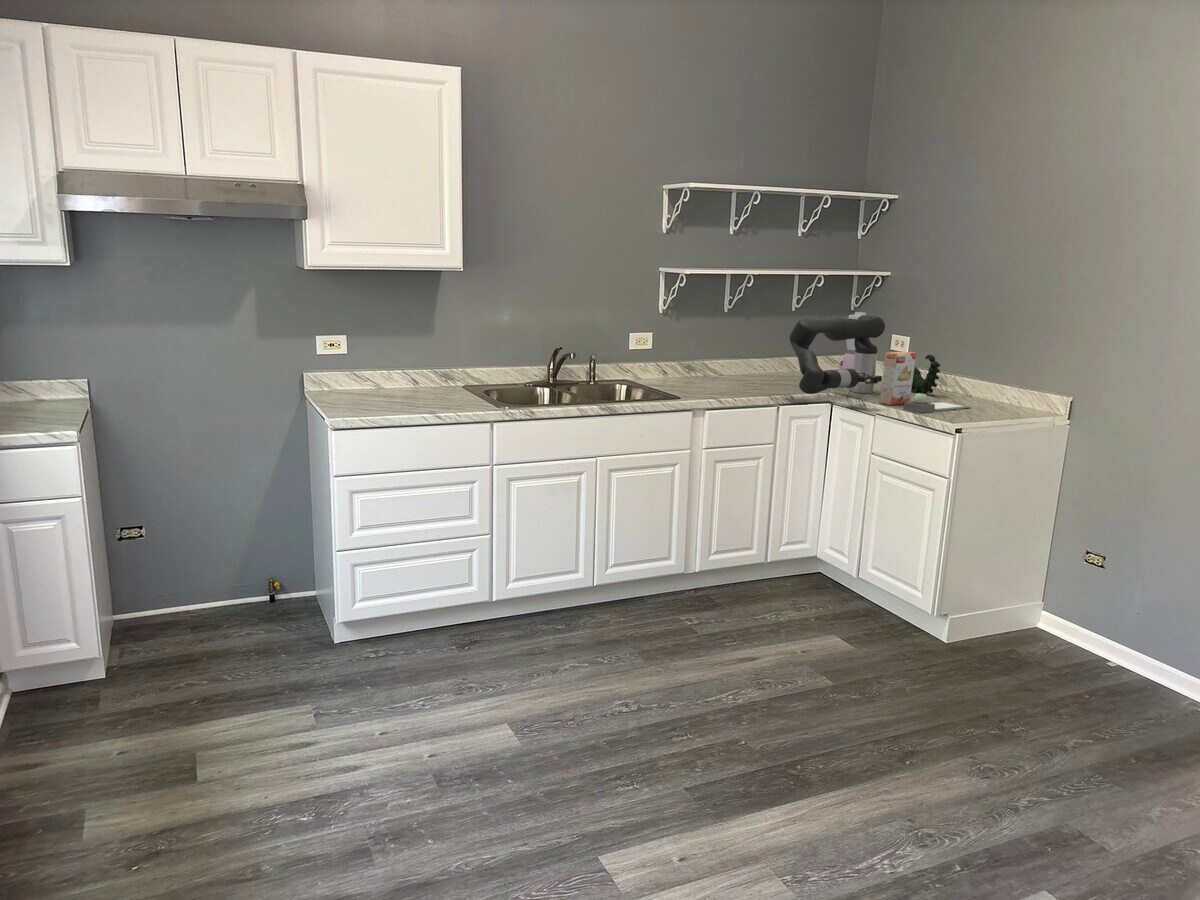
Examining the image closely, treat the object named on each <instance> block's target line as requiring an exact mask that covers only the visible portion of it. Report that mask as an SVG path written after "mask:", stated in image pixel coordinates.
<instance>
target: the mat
mask: <svg viewBox="0 0 1200 900" xmlns="http://www.w3.org/2000/svg"><path fill="white" fill-rule="evenodd" d="M929 403H931V404H935V409H934V412H937V411H939V412H945V411H944V410H951V411H955V410H954V409H962V410H965V409H964V408H971V407H970V406H967V405H961V404H956V403H952V402H951V403H950V402H947V401H945V402H944V401H931V402H929Z"/></svg>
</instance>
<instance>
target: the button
mask: <svg viewBox="0 0 1200 900" xmlns="http://www.w3.org/2000/svg"><path fill="white" fill-rule="evenodd" d="M913 401H914V403H915V404H920V405H923V404H925V403H927V402H926V401H927V393H926V394H925V393H919V392H918V393H916V394H915V393H914V400H913Z"/></svg>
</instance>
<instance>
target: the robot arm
mask: <svg viewBox="0 0 1200 900" xmlns="http://www.w3.org/2000/svg"><path fill="white" fill-rule="evenodd" d="M885 330H886V323H885V321H884V319H883V318H881V317H879V316H875V315H867V314H866V315H862V316H860V317H859V318H858V319H850V318H848V317H839V318H832V319H831V318H830V319H815V318H801V319H799V320H797V323H796V324H795V325H794V327H793V328H792V330H791V332H790V335H789V342H790V344H791V347H792V349H793V351H794V353H795V355H796V357H797V360H798V365H799V370H800V373H801V374H802V377H801V379H800V380H799V384H798V385H799V389H800V391H801V392H803V393H805V394H807V395H814V394H818V393H821V392H823V391H825V390H828V389H839V390H840V389H841V390H842V389H849V391H850V392H853V393H857V394H873V393H874V387H875V385H874V384H878V383H879V382H881V383H882V378H883V375H876V367H877V358H878V346H876V345H874V344H873V343H872V342H871V338H872V339H875V338H879V337H881V336H882V335H883V333H884V332H885ZM818 334H823V335H824V337H826V338H827V339H828V340H830V341H831V342H835V341H836V342H839V341H846V340H847V339H854V338H855V341H854V345H855V358H854V368H853V369H842V368H840V369H839V368H837V369H828V370H823V369H822V368H821V366H820V365H819V362H818V358H817V355H816V353H815V352H814V351H812V350H810V349H809V348H810V346H811V345H812V343H813V341H814V340H815V338H816V337H817V335H818ZM869 337H870V339H869Z"/></svg>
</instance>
